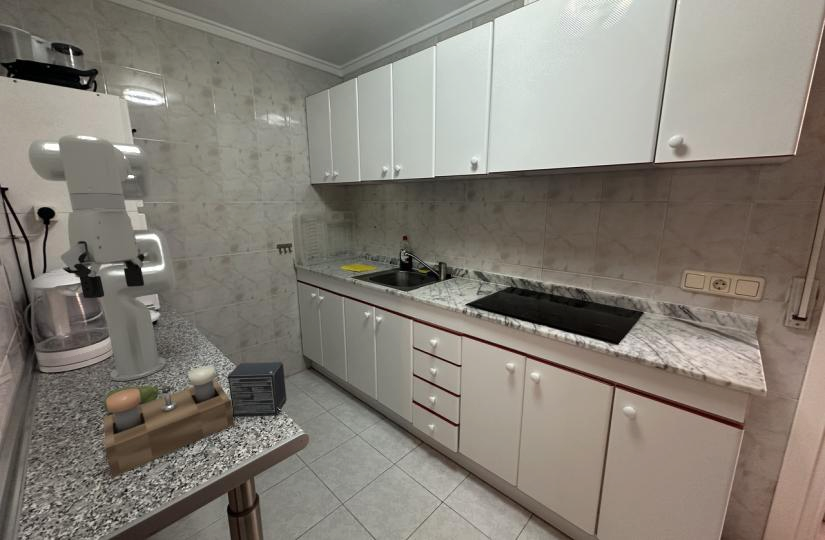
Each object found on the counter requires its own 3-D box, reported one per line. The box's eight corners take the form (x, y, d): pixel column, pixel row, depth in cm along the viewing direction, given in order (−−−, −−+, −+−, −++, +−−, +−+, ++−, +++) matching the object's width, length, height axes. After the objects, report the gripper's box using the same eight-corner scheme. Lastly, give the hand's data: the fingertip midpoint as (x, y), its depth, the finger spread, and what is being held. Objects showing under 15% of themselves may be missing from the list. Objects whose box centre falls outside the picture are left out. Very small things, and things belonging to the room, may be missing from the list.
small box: (288, 399, 80) (284, 360, 78) (278, 416, 74) (274, 374, 72) (245, 400, 80) (240, 361, 78) (231, 417, 74) (226, 375, 72)
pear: (102, 388, 76) (155, 378, 83) (101, 410, 76) (154, 397, 84) (105, 397, 72) (160, 385, 80) (104, 420, 73) (159, 406, 80)
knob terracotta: (113, 429, 63) (105, 395, 62) (144, 418, 67) (137, 385, 65) (114, 442, 60) (106, 406, 58) (147, 429, 63) (140, 395, 62)
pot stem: (161, 408, 67) (157, 388, 66) (175, 403, 69) (172, 384, 68) (163, 413, 66) (159, 393, 65) (177, 408, 67) (174, 388, 66)
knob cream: (191, 401, 72) (186, 371, 71) (215, 392, 75) (211, 363, 74) (196, 411, 69) (191, 379, 67) (221, 401, 72) (216, 370, 71)
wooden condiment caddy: (109, 442, 66) (103, 417, 65) (219, 401, 80) (215, 379, 78) (112, 477, 58) (105, 448, 56) (234, 424, 71) (230, 400, 70)
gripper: (117, 206, 70) (131, 283, 73) (28, 204, 53) (52, 304, 56) (152, 205, 71) (166, 281, 74) (75, 202, 54) (96, 301, 56)
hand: (116, 291), depth 65 cm, fingers open, 9 cm apart
